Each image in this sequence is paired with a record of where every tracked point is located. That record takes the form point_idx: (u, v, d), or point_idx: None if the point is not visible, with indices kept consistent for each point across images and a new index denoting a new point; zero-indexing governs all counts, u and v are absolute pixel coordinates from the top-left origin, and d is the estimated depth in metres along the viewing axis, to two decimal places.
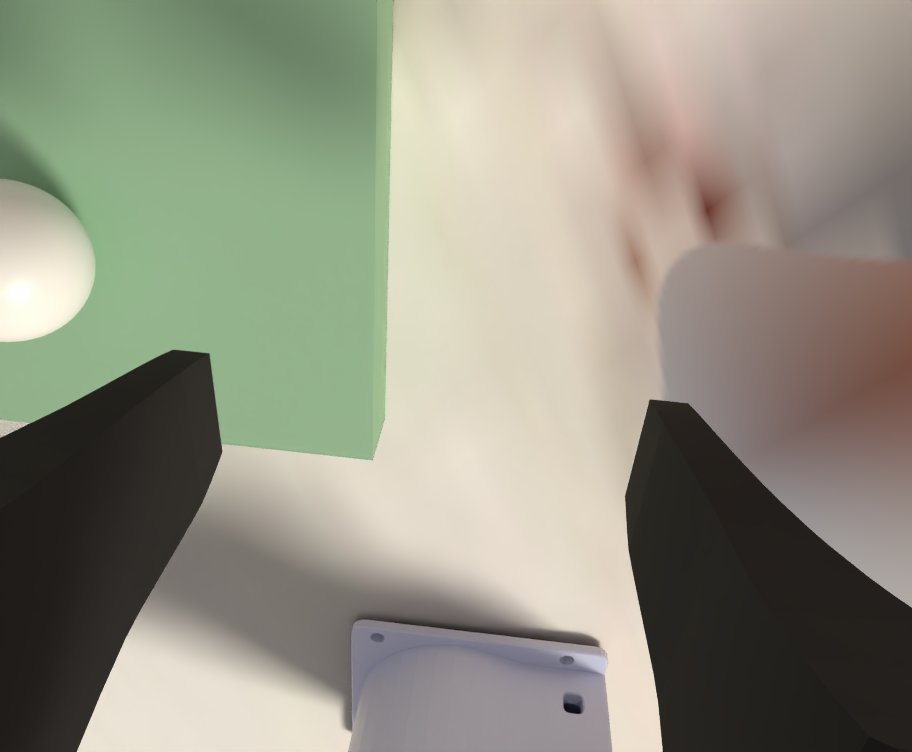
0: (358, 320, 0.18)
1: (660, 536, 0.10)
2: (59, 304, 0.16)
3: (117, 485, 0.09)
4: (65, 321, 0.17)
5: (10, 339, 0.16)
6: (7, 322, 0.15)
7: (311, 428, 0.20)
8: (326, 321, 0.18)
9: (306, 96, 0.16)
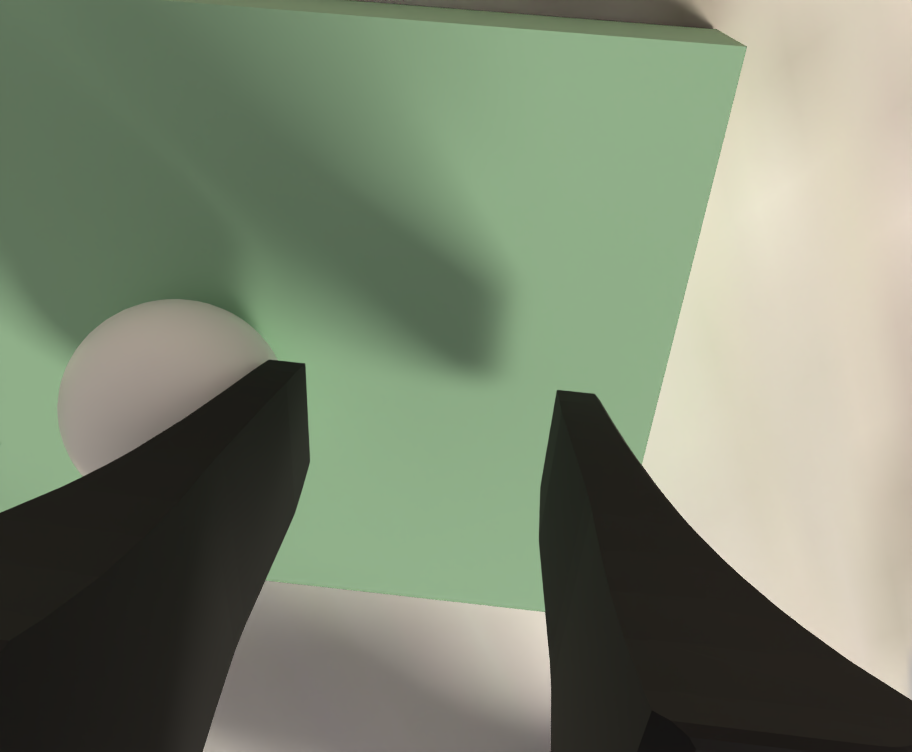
0: None
1: (556, 525, 0.10)
2: None
3: (235, 498, 0.09)
4: None
5: None
6: None
7: (531, 582, 0.16)
8: None
9: (611, 194, 0.12)
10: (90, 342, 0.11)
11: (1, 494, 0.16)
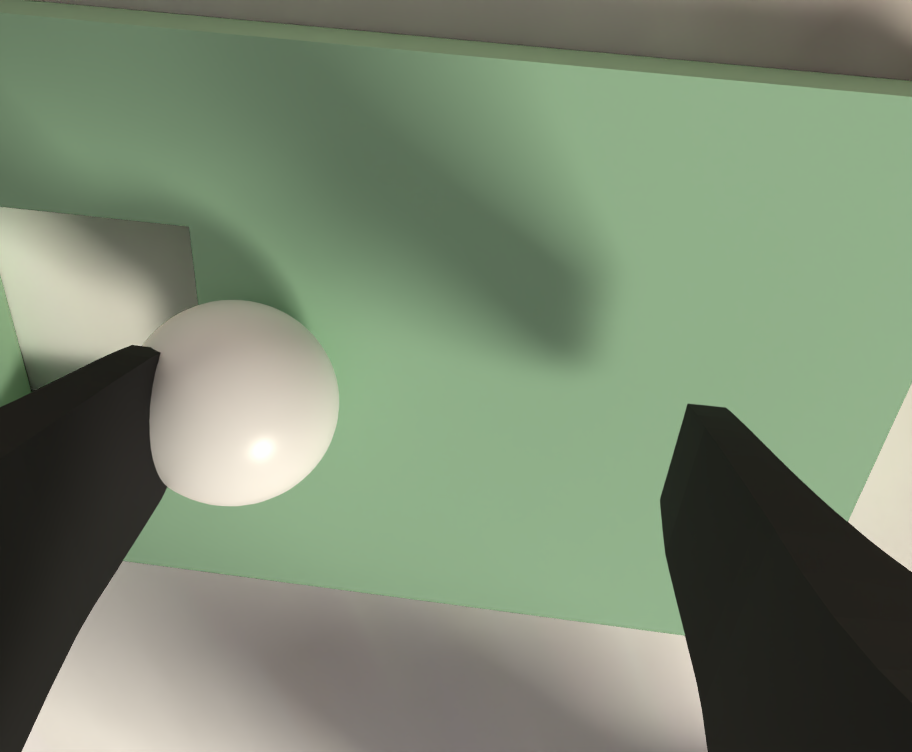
0: (836, 499, 0.15)
1: (703, 540, 0.10)
2: None
3: (66, 479, 0.09)
4: None
5: None
6: None
7: None
8: None
9: (877, 243, 0.12)
10: None
11: (207, 516, 0.17)
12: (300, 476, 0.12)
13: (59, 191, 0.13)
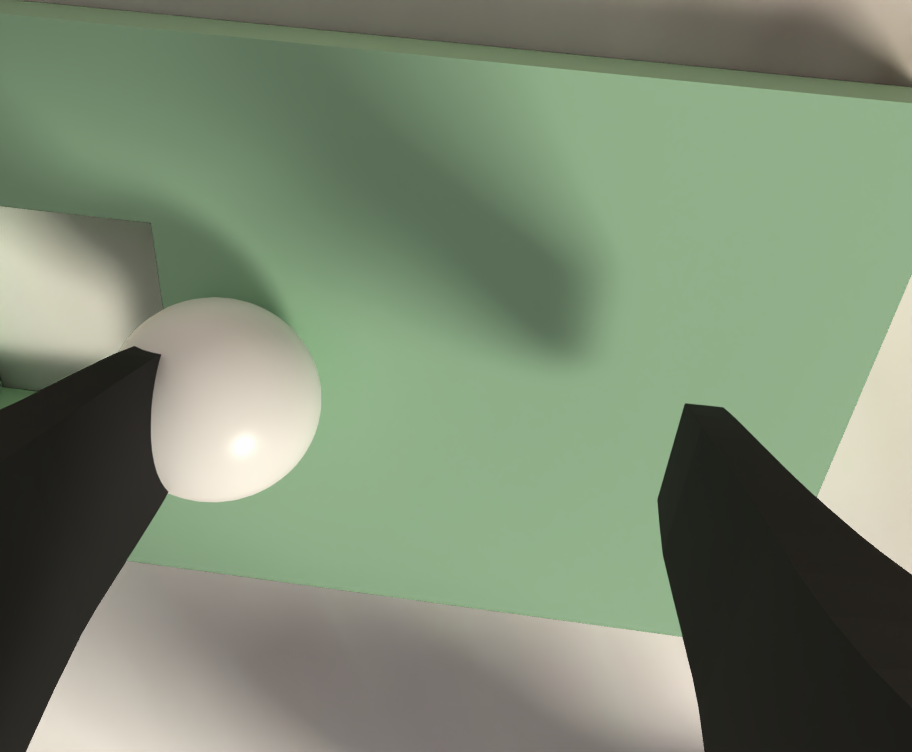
0: None
1: (700, 540, 0.10)
2: None
3: (70, 480, 0.09)
4: None
5: None
6: None
7: None
8: None
9: (828, 243, 0.12)
10: None
11: (175, 511, 0.17)
12: (296, 462, 0.13)
13: (22, 187, 0.13)
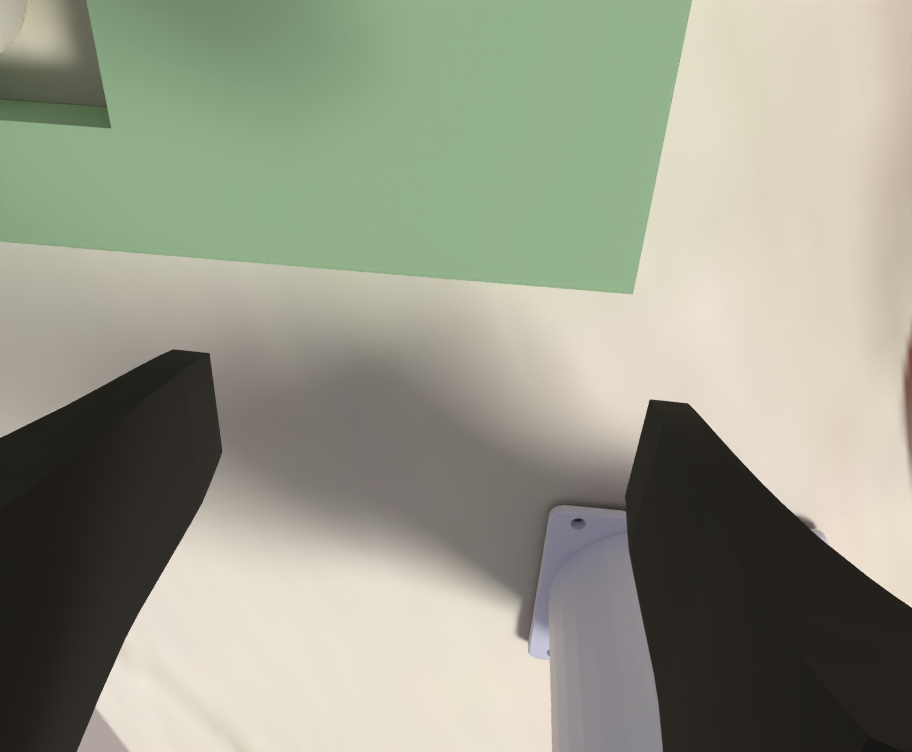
0: (650, 116, 0.17)
1: (660, 535, 0.10)
2: None
3: (117, 485, 0.09)
4: None
5: None
6: None
7: (571, 257, 0.19)
8: (613, 119, 0.17)
9: None
10: None
11: (108, 184, 0.19)
12: None
13: None
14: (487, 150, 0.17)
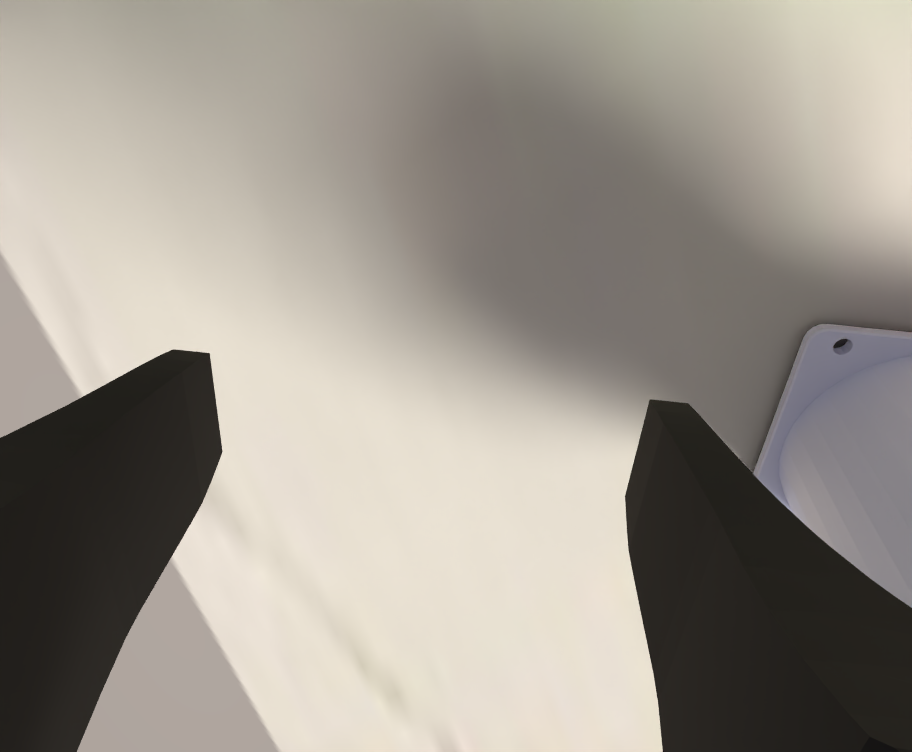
0: None
1: (660, 536, 0.10)
2: None
3: (117, 485, 0.09)
4: None
5: None
6: None
7: None
8: None
9: None
10: None
11: None
12: None
13: None
14: None
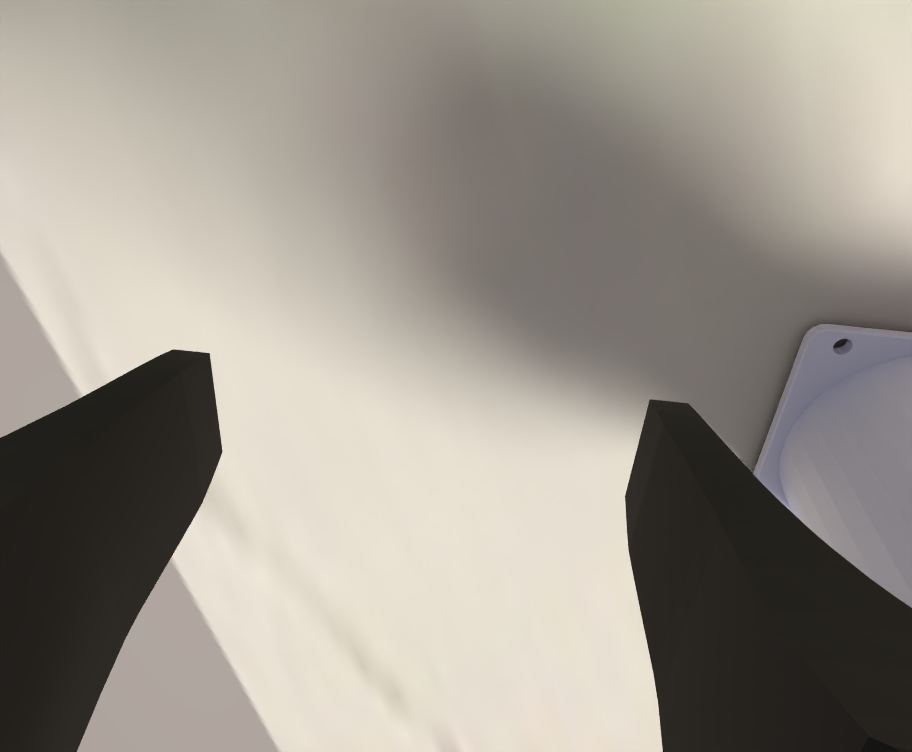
0: None
1: (660, 536, 0.10)
2: None
3: (117, 485, 0.09)
4: None
5: None
6: None
7: None
8: None
9: None
10: None
11: None
12: None
13: None
14: None
